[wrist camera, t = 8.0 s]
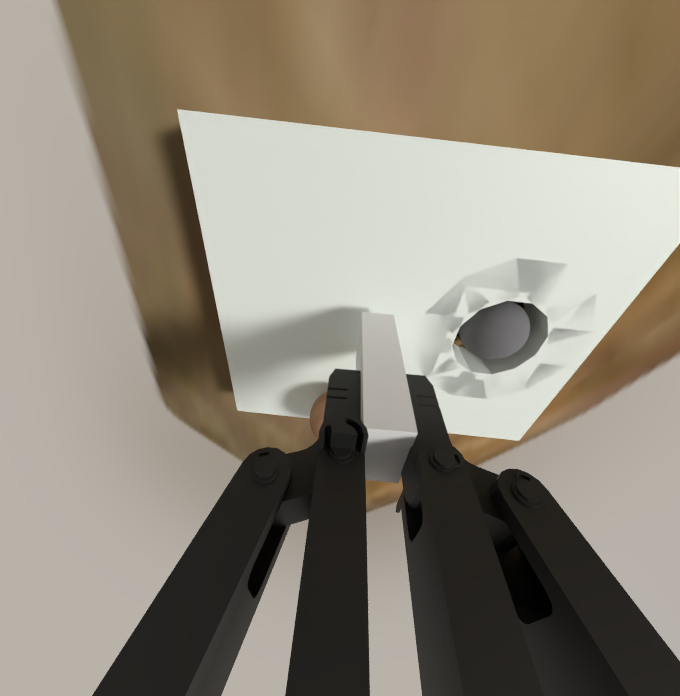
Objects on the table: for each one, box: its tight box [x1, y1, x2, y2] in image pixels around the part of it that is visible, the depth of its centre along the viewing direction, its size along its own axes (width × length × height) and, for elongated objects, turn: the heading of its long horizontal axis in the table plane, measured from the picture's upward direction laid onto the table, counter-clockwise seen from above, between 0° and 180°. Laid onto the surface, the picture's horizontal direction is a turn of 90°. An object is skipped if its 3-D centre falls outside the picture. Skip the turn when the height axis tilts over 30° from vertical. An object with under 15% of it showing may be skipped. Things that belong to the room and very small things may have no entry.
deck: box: [177, 109, 680, 441], centre depth 15 cm, size 16×20×2 cm
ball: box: [459, 301, 530, 359], centre depth 15 cm, size 3×3×3 cm
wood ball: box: [310, 391, 327, 439], centre depth 16 cm, size 3×3×3 cm
